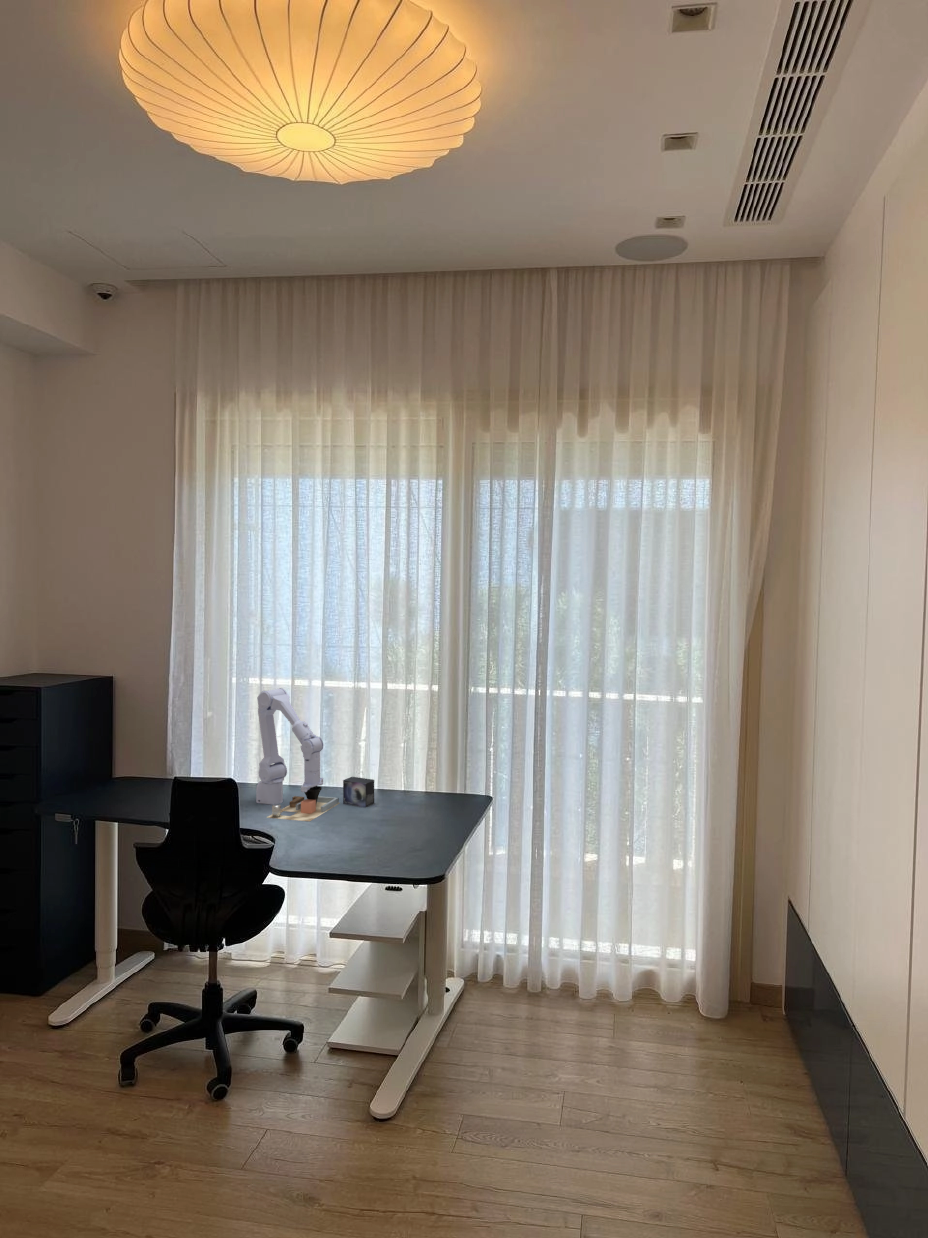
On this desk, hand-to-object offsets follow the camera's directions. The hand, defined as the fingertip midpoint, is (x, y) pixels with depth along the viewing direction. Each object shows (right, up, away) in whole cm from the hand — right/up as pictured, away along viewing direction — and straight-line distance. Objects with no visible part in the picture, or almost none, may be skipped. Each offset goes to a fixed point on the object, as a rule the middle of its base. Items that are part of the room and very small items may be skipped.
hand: (312, 807), depth 331 cm
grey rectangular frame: (+1, -1, +4) cm, 5 cm away
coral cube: (-1, -1, -3) cm, 4 cm away
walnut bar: (-7, -1, +7) cm, 10 cm away
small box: (+16, -2, +9) cm, 18 cm away
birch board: (-3, -2, -1) cm, 4 cm away
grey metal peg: (-11, -1, -10) cm, 15 cm away
